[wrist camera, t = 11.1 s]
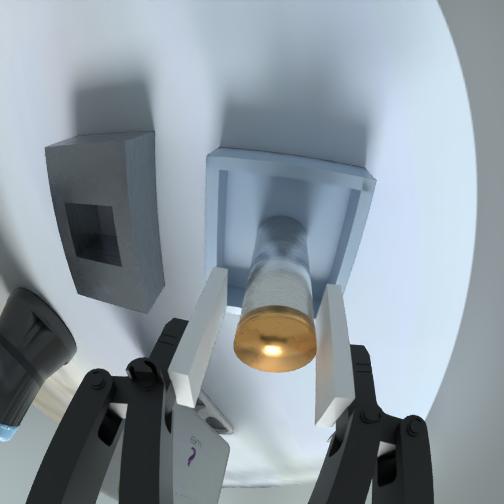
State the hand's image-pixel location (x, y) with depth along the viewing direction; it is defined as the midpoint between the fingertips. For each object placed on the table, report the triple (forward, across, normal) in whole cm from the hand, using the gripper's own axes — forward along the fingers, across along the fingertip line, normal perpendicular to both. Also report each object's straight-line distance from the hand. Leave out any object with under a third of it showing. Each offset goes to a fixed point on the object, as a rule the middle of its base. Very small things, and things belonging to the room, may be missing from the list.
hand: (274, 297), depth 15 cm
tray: (+7, 0, 0) cm, 7 cm away
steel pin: (+7, 0, 0) cm, 7 cm away
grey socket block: (+7, -14, 0) cm, 16 cm away
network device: (+7, -9, -33) cm, 35 cm away
